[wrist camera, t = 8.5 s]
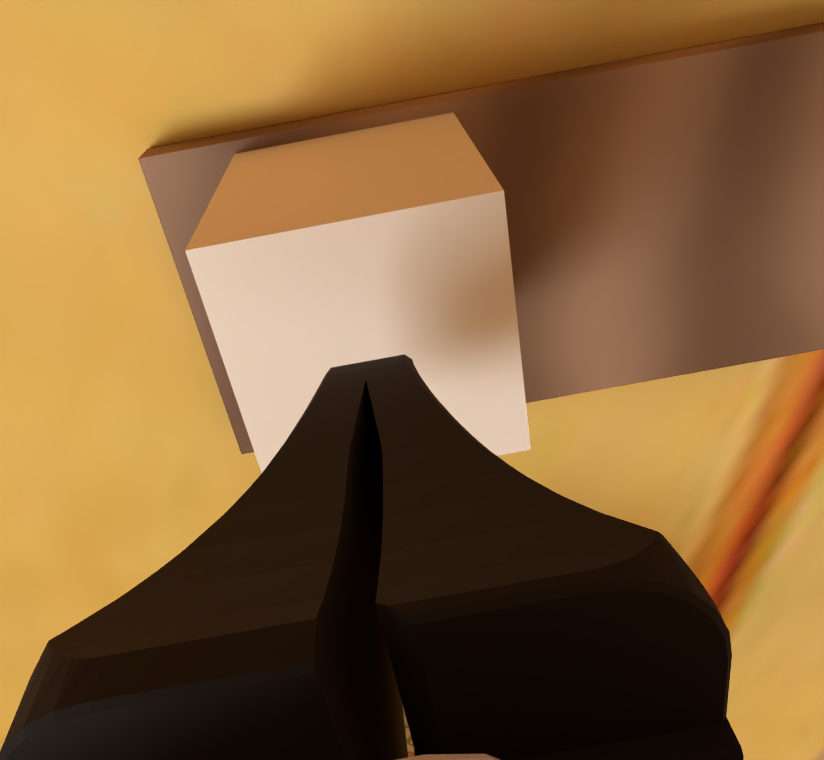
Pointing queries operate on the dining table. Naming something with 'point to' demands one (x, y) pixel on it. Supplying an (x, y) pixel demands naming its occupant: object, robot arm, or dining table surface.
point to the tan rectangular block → (364, 275)
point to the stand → (612, 208)
